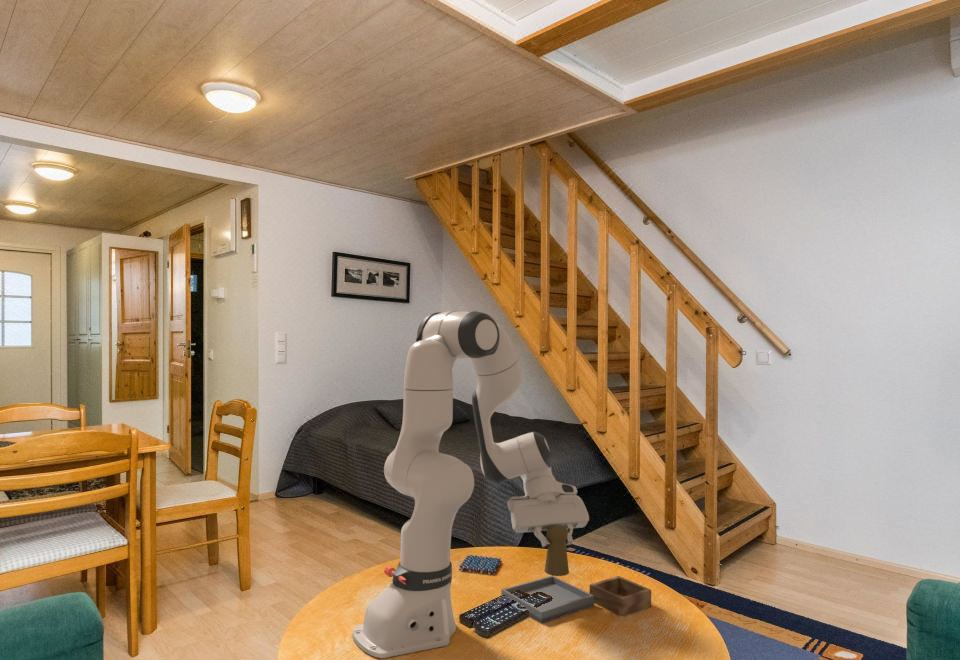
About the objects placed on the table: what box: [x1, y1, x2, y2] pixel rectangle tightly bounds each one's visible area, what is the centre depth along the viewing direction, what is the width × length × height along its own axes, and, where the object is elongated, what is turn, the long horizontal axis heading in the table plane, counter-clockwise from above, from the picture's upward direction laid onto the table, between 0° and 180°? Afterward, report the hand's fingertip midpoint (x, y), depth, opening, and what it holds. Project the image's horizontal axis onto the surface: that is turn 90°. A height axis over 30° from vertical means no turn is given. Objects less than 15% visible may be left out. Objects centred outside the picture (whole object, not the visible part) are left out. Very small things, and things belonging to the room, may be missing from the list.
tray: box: [500, 575, 595, 624], centre depth 144 cm, size 17×15×2 cm
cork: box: [544, 525, 570, 577], centre depth 145 cm, size 6×6×11 cm
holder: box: [589, 575, 652, 618], centre depth 144 cm, size 10×10×4 cm
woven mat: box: [458, 554, 503, 576], centre depth 167 cm, size 10×11×2 cm
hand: (558, 544), depth 144 cm, fingers closed on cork, 5 cm apart
